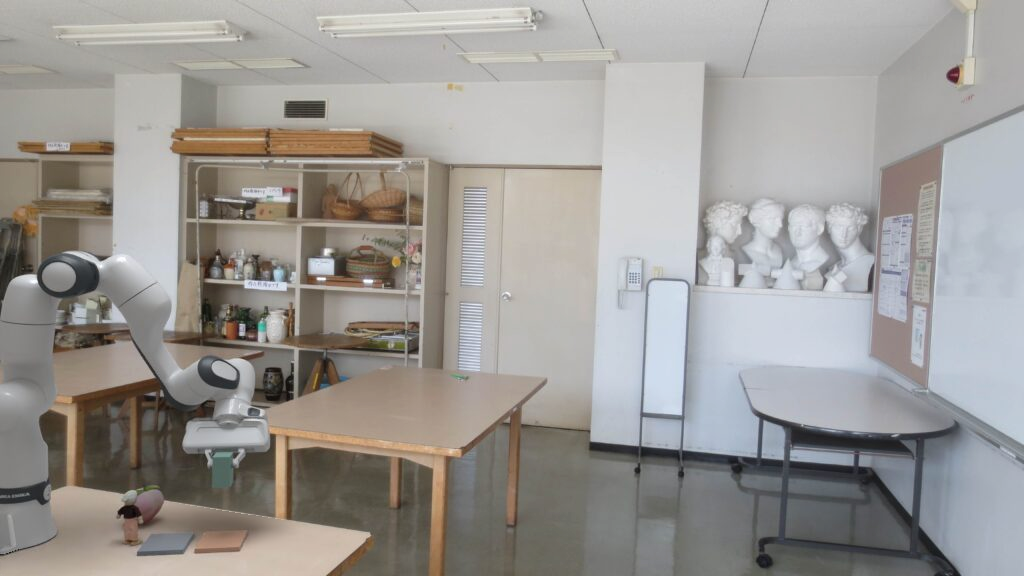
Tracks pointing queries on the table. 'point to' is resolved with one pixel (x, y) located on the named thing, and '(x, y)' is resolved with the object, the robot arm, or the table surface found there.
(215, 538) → the terracotta tile
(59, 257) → the robot arm
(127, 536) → the grandmother figurine
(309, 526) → the table surface
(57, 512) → the table surface
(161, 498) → the decorative fruit
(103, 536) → the table surface
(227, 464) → the green wooden block
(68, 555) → the table surface
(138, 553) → the slate tile
